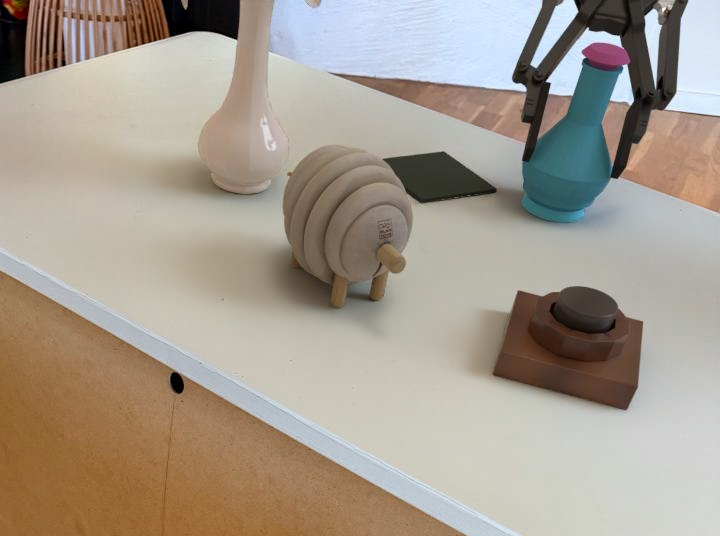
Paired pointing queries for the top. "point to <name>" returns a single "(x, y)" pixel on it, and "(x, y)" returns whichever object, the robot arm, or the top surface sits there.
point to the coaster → (437, 177)
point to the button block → (570, 353)
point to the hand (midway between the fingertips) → (573, 163)
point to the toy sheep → (347, 219)
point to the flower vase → (247, 112)
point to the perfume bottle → (575, 144)
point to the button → (585, 310)
